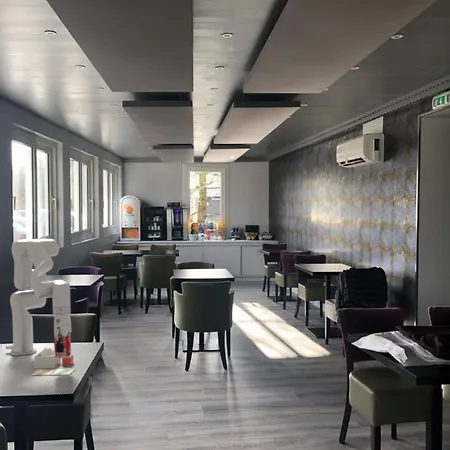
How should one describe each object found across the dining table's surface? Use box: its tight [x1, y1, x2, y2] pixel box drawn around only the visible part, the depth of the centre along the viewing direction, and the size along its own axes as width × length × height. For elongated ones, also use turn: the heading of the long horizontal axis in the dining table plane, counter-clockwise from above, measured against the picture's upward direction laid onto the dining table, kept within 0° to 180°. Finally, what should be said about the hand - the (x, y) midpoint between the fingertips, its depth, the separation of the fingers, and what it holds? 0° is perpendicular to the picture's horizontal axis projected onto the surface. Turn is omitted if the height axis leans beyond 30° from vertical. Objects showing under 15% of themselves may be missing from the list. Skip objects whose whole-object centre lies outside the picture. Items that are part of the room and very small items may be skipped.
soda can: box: [53, 330, 72, 359], centre depth 237 cm, size 7×7×12 cm
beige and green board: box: [31, 368, 76, 377], centre depth 238 cm, size 16×8×1 cm, turn 89°
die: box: [61, 354, 74, 367], centre depth 251 cm, size 4×4×4 cm
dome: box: [39, 346, 55, 356], centre depth 250 cm, size 6×6×5 cm
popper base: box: [34, 350, 62, 369], centre depth 250 cm, size 9×9×6 cm
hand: (62, 349), depth 237 cm, fingers closed on soda can, 7 cm apart
